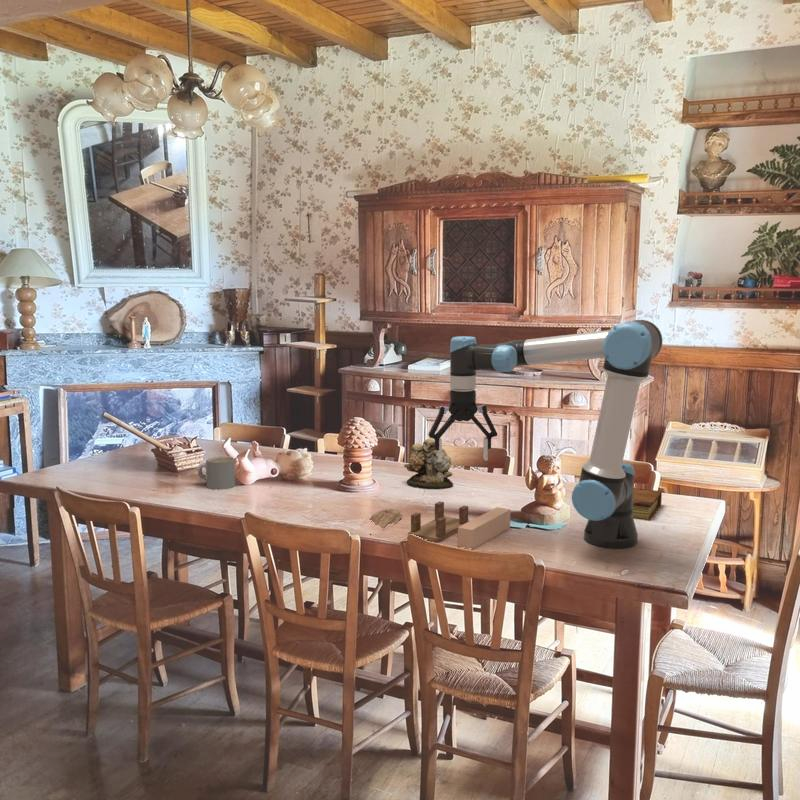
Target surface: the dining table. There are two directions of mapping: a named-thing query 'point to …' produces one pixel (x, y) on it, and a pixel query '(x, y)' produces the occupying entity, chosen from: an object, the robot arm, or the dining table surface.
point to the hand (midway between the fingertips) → (462, 460)
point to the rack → (438, 524)
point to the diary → (645, 503)
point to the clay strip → (483, 528)
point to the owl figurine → (429, 467)
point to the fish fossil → (386, 517)
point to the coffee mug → (218, 472)
